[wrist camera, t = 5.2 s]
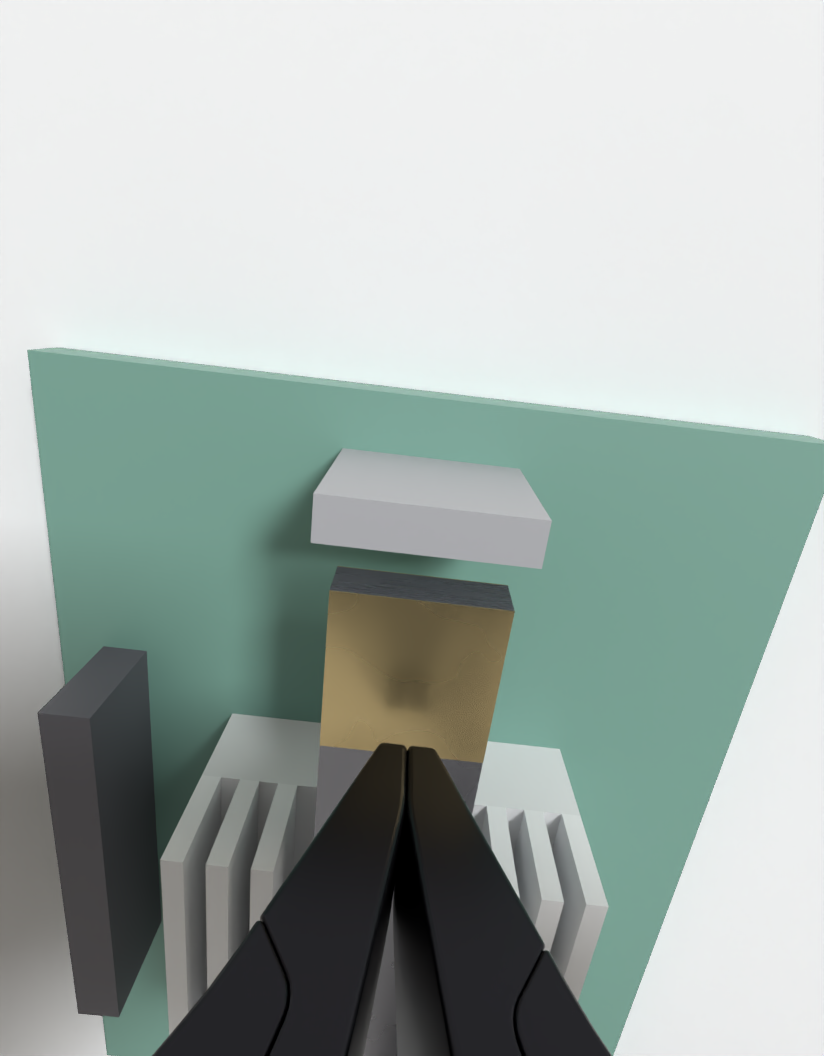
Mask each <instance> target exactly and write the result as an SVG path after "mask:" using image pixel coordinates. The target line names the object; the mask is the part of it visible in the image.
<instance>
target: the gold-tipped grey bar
mask: <svg viewBox="0 0 824 1056" xmlns="http://www.w3.org/2000/svg"><path fill="white" fill-rule="evenodd" d="M514 613H515V611H514V607H513V603H512V599H511V595H510V592H509V588H508V585H502V584H493V583H485V582H476V581H467V580H458V579H449V578H440V577H432V576H423V575H414V574H405V573H396V572H387V571H378V570H370V569H361V568H352V567H343V566H337V569H336V572H335V575H334V578H333V581H332V584H331V587H330V590H329V603H328V619H327V635H326V651H325V667H324V682H323V698H322V714H321V730H320V748H319V764H318V780H317V796H316V812H315V827H314V838H315V836H316V835H317V833H318V832H319V830H320V829H321V828H322V826H323V825H324V823H325V822H326V820H327V819H328V817H329V816H330V815H331V813H332V812H333V810H334V809H335V807H336V806H337V804H338V803H339V802H340V800H341V799H342V797H343V796H344V794H345V793H346V791H347V790H348V788H349V787H350V786H351V784H352V783H353V781H354V780H355V778H356V777H357V775H358V774H359V773H360V771H361V770H362V768H363V767H364V765H365V764H366V762H367V761H368V760H369V758H370V757H371V755H372V754H373V752H374V751H375V749H376V748H377V747H378V745H379V744H381V743H392V744H401V745H405V746H406V748H407V749H408V748H409V747H410V746H420V747H429V748H433V749H435V750H436V752H437V753H438V755H439V757H440V759H441V760H442V762H443V764H444V766H445V767H446V769H447V771H448V773H449V775H450V776H451V778H452V780H453V782H454V783H455V785H456V787H457V789H458V791H459V792H460V794H461V796H462V798H463V799H464V801H465V803H466V805H467V807H468V808H469V810H470V812H471V814H472V813H473V808H474V803H475V798H476V793H477V789H478V784H479V779H480V774H481V770H482V765H483V761H484V757H485V752H486V747H487V742H488V737H489V733H490V728H491V723H492V718H493V713H494V709H495V704H496V699H497V694H498V690H499V685H500V680H501V675H502V670H503V666H504V661H505V656H506V651H507V646H508V642H509V637H510V632H511V627H512V623H513V618H514ZM364 1056H397V1031H396V1002H395V972H394V943H393V900H392V907H391V913H390V920H389V926H388V931H387V936H386V942H385V947H384V952H383V957H382V962H381V968H380V973H379V978H378V983H377V989H376V994H375V999H374V1004H373V1010H372V1015H371V1020H370V1025H369V1031H368V1036H367V1041H366V1046H365V1052H364Z"/></svg>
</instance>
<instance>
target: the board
mask: <svg viewBox="0 0 824 1056" xmlns="http://www.w3.org/2000/svg"><path fill="white" fill-rule="evenodd" d="M27 351H28V360H29V368H30V377H31V386H32V395H33V404H34V413H35V421H36V430H37V439H38V448H39V457H40V466H41V474H42V483H43V492H44V501H45V510H46V519H47V528H48V536H49V545H50V554H51V563H52V572H53V581H54V589H55V598H56V607H57V616H58V625H59V634H60V642H61V651H62V660H63V669H64V678H65V686H64V687H63V688H62V689H61V690H60V691H59V692H58V693H57V694H56V695H55V696H54V697H53V698H52V699H51V700H50V701H49V702H48V703H47V704H46V705H45V706H44V707H43V708H42V709H41V710H40V711H39V712H38V719H39V726H40V734H41V741H42V748H43V756H44V763H45V771H46V778H47V785H48V793H49V800H50V807H51V815H52V822H53V830H54V837H55V844H56V852H57V859H58V867H59V874H60V881H61V889H62V896H63V903H64V911H65V918H66V926H67V933H68V940H69V948H70V955H71V963H72V970H73V977H74V985H75V992H76V999H77V1007H78V1013H80V1014H90V1015H100V1016H103V1023H104V1032H105V1040H106V1049H107V1055H111V1056H152V1055H153V1054H154V1053H155V1051H156V1050H157V1049H158V1048H159V1047H160V1046H161V1044H162V1043H163V1042H164V1041H165V1040H166V1039H167V1037H168V1036H169V1035H170V1034H171V1033H172V1032H173V1030H174V1029H175V1028H176V1027H177V1025H178V1024H179V1023H180V1022H181V1021H182V1019H183V1018H184V1017H185V1016H186V1015H187V1013H188V1012H189V1011H190V1010H191V1008H192V1007H193V1006H194V1005H195V1004H196V1002H197V1001H198V1000H199V999H200V998H201V996H202V995H203V994H204V993H205V991H206V990H207V989H208V988H209V986H210V985H211V984H212V982H213V981H214V980H215V978H216V977H217V976H218V974H219V973H220V971H221V970H222V969H223V967H224V966H225V965H226V963H227V962H228V961H229V959H230V958H231V957H232V955H233V954H234V952H235V951H236V950H237V948H238V947H239V946H240V944H241V943H242V941H243V940H244V938H245V937H246V935H247V934H248V933H249V931H250V930H251V928H252V927H253V925H254V924H255V922H256V921H260V916H261V914H262V913H263V911H264V910H265V908H266V907H267V906H268V904H269V903H270V901H271V900H272V898H273V897H274V895H275V894H276V893H277V891H278V890H279V888H280V887H281V885H282V884H283V882H284V881H285V880H286V878H287V877H288V875H289V874H290V872H291V871H292V869H293V868H294V867H295V865H296V864H297V862H298V861H299V859H300V858H301V856H302V855H303V854H304V852H305V851H306V849H307V848H308V846H309V845H310V843H311V842H312V841H313V839H314V827H315V812H316V796H317V780H318V764H319V748H320V730H321V714H322V698H323V682H324V667H325V651H326V635H327V619H328V603H329V590H330V587H331V584H332V581H333V578H334V575H335V572H336V569H337V566H343V567H352V568H361V569H370V570H378V571H387V572H396V573H405V574H414V575H423V576H432V577H440V578H449V579H458V580H467V581H476V582H485V583H493V584H502V585H508V588H509V592H510V595H511V599H512V603H513V607H514V611H515V613H514V618H513V623H512V627H511V632H510V637H509V642H508V646H507V651H506V656H505V661H504V666H503V670H502V675H501V680H500V685H499V690H498V694H497V699H496V704H495V709H494V713H493V718H492V723H491V728H490V733H489V737H488V742H487V747H486V752H485V757H484V761H483V765H482V770H481V774H480V779H479V784H478V789H477V793H476V798H475V803H474V808H473V813H472V815H473V817H474V819H475V821H476V823H477V824H478V826H479V828H480V830H481V831H482V833H483V835H484V837H485V839H486V840H487V842H488V844H489V846H490V847H491V849H492V851H493V853H494V855H495V856H496V858H497V860H498V862H499V863H500V865H501V867H502V869H503V871H504V872H505V874H506V876H507V878H508V879H509V881H510V883H511V885H512V887H513V888H514V890H515V892H516V894H517V895H518V897H519V899H520V901H521V903H522V904H523V906H524V908H525V910H526V911H527V913H528V915H529V917H530V919H531V920H532V922H533V924H534V926H535V928H536V929H537V931H538V933H539V935H540V936H541V938H542V940H543V942H544V944H545V950H548V951H549V952H550V954H551V955H552V957H553V959H554V961H555V963H556V964H557V966H558V968H559V970H560V972H561V973H562V975H563V977H564V979H565V981H566V982H567V984H568V986H569V987H570V989H571V991H572V992H573V994H574V996H575V997H576V999H577V1001H578V1002H579V1004H580V1006H581V1007H582V1009H583V1011H584V1013H585V1014H586V1016H587V1018H588V1019H589V1021H590V1023H591V1024H592V1026H593V1028H594V1029H595V1031H596V1032H597V1034H598V1035H599V1037H600V1038H601V1040H602V1041H603V1043H604V1044H605V1046H606V1047H607V1049H608V1050H609V1052H610V1053H611V1055H612V1056H613V1054H614V1051H615V1049H616V1046H617V1043H618V1041H619V1038H620V1035H621V1033H622V1030H623V1027H624V1025H625V1022H626V1019H627V1017H628V1014H629V1011H630V1009H631V1006H632V1003H633V1001H634V998H635V995H636V993H637V990H638V988H639V985H640V982H641V980H642V977H643V974H644V972H645V969H646V966H647V964H648V961H649V958H650V956H651V953H652V950H653V948H654V945H655V942H656V940H657V937H658V934H659V932H660V929H661V926H662V924H663V921H664V918H665V916H666V913H667V910H668V908H669V905H670V902H671V900H672V897H673V894H674V892H675V889H676V886H677V884H678V881H679V878H680V876H681V873H682V870H683V868H684V865H685V862H686V860H687V857H688V854H689V852H690V849H691V846H692V844H693V841H694V838H695V836H696V833H697V830H698V828H699V825H700V822H701V820H702V817H703V814H704V812H705V809H706V806H707V804H708V801H709V798H710V796H711V793H712V790H713V788H714V785H715V782H716V780H717V777H718V774H719V772H720V769H721V766H722V764H723V761H724V758H725V756H726V753H727V750H728V748H729V745H730V742H731V740H732V737H733V734H734V732H735V729H736V726H737V724H738V721H739V718H740V716H741V713H742V710H743V708H744V705H745V702H746V700H747V697H748V694H749V692H750V689H751V686H752V684H753V681H754V678H755V676H756V673H757V670H758V668H759V665H760V662H761V660H762V657H763V654H764V652H765V649H766V646H767V644H768V641H769V638H770V636H771V633H772V630H773V628H774V625H775V622H776V620H777V617H778V614H779V612H780V609H781V606H782V604H783V601H784V598H785V596H786V593H787V590H788V588H789V585H790V582H791V580H792V577H793V574H794V572H795V569H796V566H797V564H798V561H799V558H800V556H801V553H802V550H803V548H804V545H805V542H806V540H807V537H808V534H809V532H810V529H811V526H812V524H813V521H814V518H815V516H816V513H817V510H818V508H819V505H820V502H821V500H822V497H823V494H824V440H820V439H817V438H814V437H811V436H804V435H795V434H787V433H778V432H770V431H761V430H753V429H744V428H736V427H727V426H719V425H710V424H702V423H693V422H685V421H676V420H668V419H659V418H651V417H643V416H634V415H626V414H617V413H609V412H600V411H592V410H583V409H575V408H566V407H558V406H549V405H541V404H532V403H524V402H515V401H507V400H499V399H490V398H482V397H473V396H465V395H456V394H448V393H439V392H431V391H422V390H414V389H405V388H397V387H388V386H380V385H371V384H363V383H354V382H346V381H338V380H329V379H321V378H312V377H304V376H295V375H287V374H278V373H270V372H261V371H253V370H244V369H236V368H227V367H219V366H210V365H202V364H193V363H185V362H177V361H168V360H160V359H151V358H143V357H134V356H126V355H117V354H109V353H100V352H92V351H83V350H75V349H66V348H47V349H34V350H27Z"/></svg>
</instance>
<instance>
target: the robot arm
mask: <svg viewBox="0 0 824 1056" xmlns="http://www.w3.org/2000/svg"><path fill="white" fill-rule="evenodd" d="M392 900H393V943H394V972H395V1002H396V1031H397V1056H612V1055H611V1053H610V1052H609V1050H608V1049H607V1047H606V1046H605V1044H604V1043H603V1041H602V1040H601V1038H600V1037H599V1035H598V1034H597V1032H596V1031H595V1029H594V1028H593V1026H592V1024H591V1023H590V1021H589V1019H588V1018H587V1016H586V1014H585V1013H584V1011H583V1009H582V1007H581V1006H580V1004H579V1002H578V1001H577V999H576V997H575V996H574V994H573V992H572V991H571V989H570V987H569V986H568V984H567V982H566V981H565V979H564V977H563V975H562V973H561V972H560V970H559V968H558V966H557V964H556V963H555V961H554V959H553V957H552V955H551V954H550V952H549V951H548V950H545V944H544V942H543V940H542V938H541V936H540V935H539V933H538V931H537V929H536V928H535V926H534V924H533V922H532V920H531V919H530V917H529V915H528V913H527V911H526V910H525V908H524V906H523V904H522V903H521V901H520V899H519V897H518V895H517V894H516V892H515V890H514V888H513V887H512V885H511V883H510V881H509V879H508V878H507V876H506V874H505V872H504V871H503V869H502V867H501V865H500V863H499V862H498V860H497V858H496V856H495V855H494V853H493V851H492V849H491V847H490V846H489V844H488V842H487V840H486V839H485V837H484V835H483V833H482V831H481V830H480V828H479V826H478V824H477V823H476V821H475V819H474V817H473V815H472V814H471V812H470V810H469V808H468V807H467V805H466V803H465V801H464V799H463V798H462V796H461V794H460V792H459V791H458V789H457V787H456V785H455V783H454V782H453V780H452V778H451V776H450V775H449V773H448V771H447V769H446V767H445V766H444V764H443V762H442V760H441V759H440V757H439V755H438V753H437V752H436V750H435V749H433V748H429V747H420V746H410V747H409V748H408V749H407V748H406V746H405V745H401V744H392V743H381V744H379V745H378V747H377V748H376V749H375V751H374V752H373V754H372V755H371V757H370V758H369V760H368V761H367V762H366V764H365V765H364V767H363V768H362V770H361V771H360V773H359V774H358V775H357V777H356V778H355V780H354V781H353V783H352V784H351V786H350V787H349V788H348V790H347V791H346V793H345V794H344V796H343V797H342V799H341V800H340V802H339V803H338V804H337V806H336V807H335V809H334V810H333V812H332V813H331V815H330V816H329V817H328V819H327V820H326V822H325V823H324V825H323V826H322V828H321V829H320V830H319V832H318V833H317V835H316V836H315V838H314V839H313V841H312V842H311V843H310V845H309V846H308V848H307V849H306V851H305V852H304V854H303V855H302V856H301V858H300V859H299V861H298V862H297V864H296V865H295V867H294V868H293V869H292V871H291V872H290V874H289V875H288V877H287V878H286V880H285V881H284V882H283V884H282V885H281V887H280V888H279V890H278V891H277V893H276V894H275V895H274V897H273V898H272V900H271V901H270V903H269V904H268V906H267V907H266V908H265V910H264V911H263V913H262V914H261V916H260V921H256V922H255V924H254V925H253V927H252V928H251V930H250V931H249V933H248V934H247V935H246V937H245V938H244V940H243V941H242V943H241V944H240V946H239V947H238V948H237V950H236V951H235V952H234V954H233V955H232V957H231V958H230V959H229V961H228V962H227V963H226V965H225V966H224V967H223V969H222V970H221V971H220V973H219V974H218V976H217V977H216V978H215V980H214V981H213V982H212V984H211V985H210V986H209V988H208V989H207V990H206V991H205V993H204V994H203V995H202V996H201V998H200V999H199V1000H198V1001H197V1002H196V1004H195V1005H194V1006H193V1007H192V1008H191V1010H190V1011H189V1012H188V1013H187V1015H186V1016H185V1017H184V1018H183V1019H182V1021H181V1022H180V1023H179V1024H178V1025H177V1027H176V1028H175V1029H174V1030H173V1032H172V1033H171V1034H170V1035H169V1036H168V1037H167V1039H166V1040H165V1041H164V1042H163V1043H162V1044H161V1046H160V1047H159V1048H158V1049H157V1050H156V1051H155V1053H154V1054H153V1055H152V1056H364V1052H365V1046H366V1041H367V1036H368V1031H369V1025H370V1020H371V1015H372V1010H373V1004H374V999H375V994H376V989H377V983H378V978H379V973H380V968H381V962H382V957H383V952H384V947H385V942H386V936H387V931H388V926H389V920H390V913H391V907H392Z"/></svg>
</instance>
